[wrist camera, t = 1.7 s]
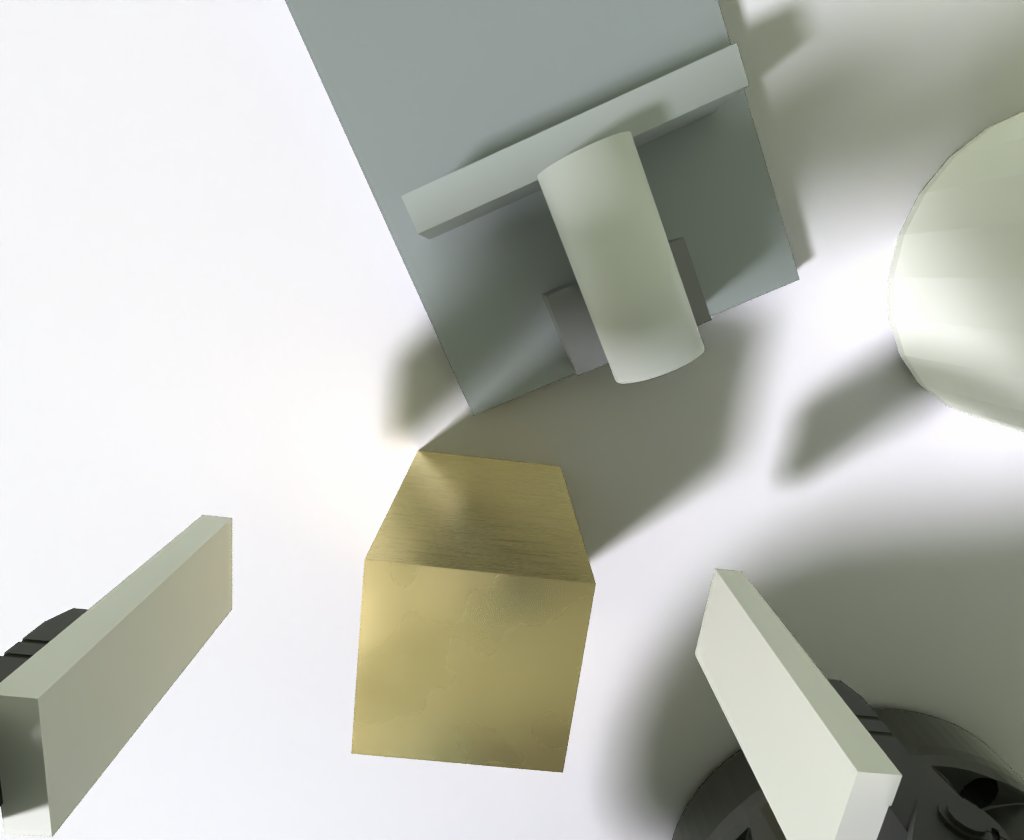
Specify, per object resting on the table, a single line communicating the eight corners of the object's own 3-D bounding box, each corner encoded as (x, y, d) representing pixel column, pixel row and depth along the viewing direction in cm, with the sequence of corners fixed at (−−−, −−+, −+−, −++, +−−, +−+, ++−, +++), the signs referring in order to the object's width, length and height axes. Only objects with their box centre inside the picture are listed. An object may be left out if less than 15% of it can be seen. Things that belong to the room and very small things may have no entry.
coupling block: (541, 593, 22) (562, 772, 14) (407, 579, 21) (351, 753, 14) (560, 466, 20) (595, 583, 13) (418, 450, 20) (364, 559, 12)
